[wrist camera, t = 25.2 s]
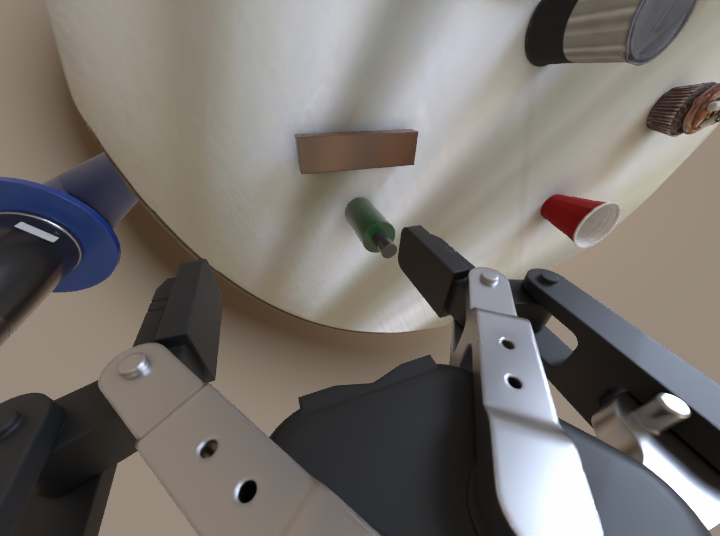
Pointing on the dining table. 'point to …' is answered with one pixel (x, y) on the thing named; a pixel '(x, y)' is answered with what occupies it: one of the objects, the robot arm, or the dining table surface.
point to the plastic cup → (582, 218)
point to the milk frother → (604, 30)
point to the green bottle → (371, 227)
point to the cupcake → (686, 109)
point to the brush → (355, 150)
